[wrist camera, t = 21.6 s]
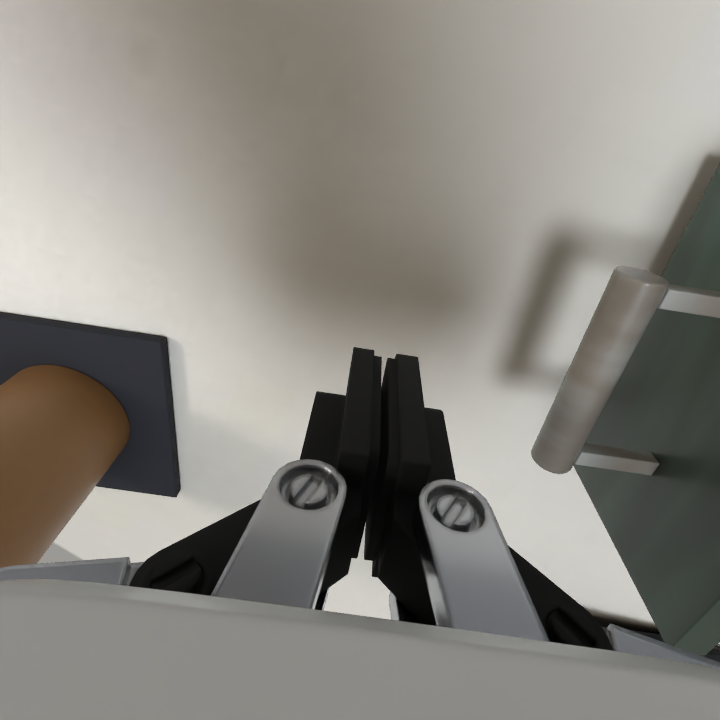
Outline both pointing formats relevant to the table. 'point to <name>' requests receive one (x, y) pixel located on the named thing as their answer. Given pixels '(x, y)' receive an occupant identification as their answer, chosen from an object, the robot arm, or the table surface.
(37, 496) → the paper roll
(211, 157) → the table surface
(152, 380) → the mat
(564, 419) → the drawer
